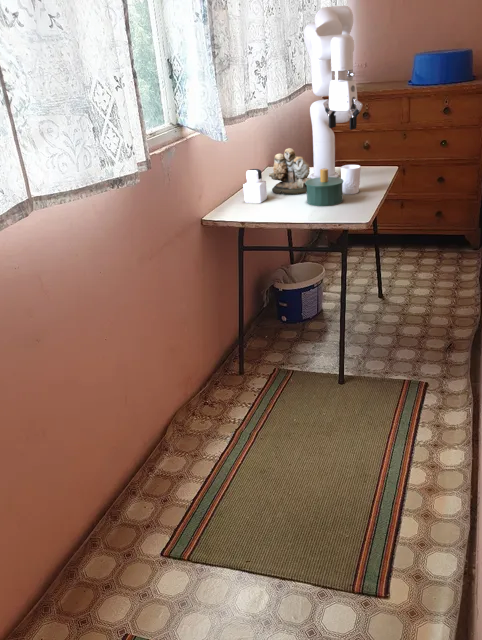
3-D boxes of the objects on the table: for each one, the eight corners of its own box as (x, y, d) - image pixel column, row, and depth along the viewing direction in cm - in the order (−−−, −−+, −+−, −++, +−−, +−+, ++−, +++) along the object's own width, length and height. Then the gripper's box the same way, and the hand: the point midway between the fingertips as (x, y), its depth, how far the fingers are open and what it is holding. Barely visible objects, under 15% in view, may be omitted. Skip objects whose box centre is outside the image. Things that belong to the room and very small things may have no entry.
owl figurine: (266, 195, 250) (263, 151, 241) (273, 188, 260) (270, 146, 251) (309, 194, 246) (308, 150, 237) (314, 187, 256) (313, 145, 247)
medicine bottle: (251, 198, 248) (248, 167, 242) (267, 198, 245) (265, 167, 239) (244, 202, 242) (241, 171, 236) (260, 203, 240) (258, 172, 233)
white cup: (359, 194, 241) (359, 168, 236) (339, 194, 243) (339, 169, 238) (361, 189, 248) (361, 164, 243) (341, 190, 250) (341, 164, 244)
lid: (300, 183, 237) (299, 168, 234) (335, 178, 240) (335, 163, 237) (312, 191, 225) (312, 175, 222) (349, 186, 228) (349, 170, 225)
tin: (302, 199, 240) (301, 181, 237) (335, 195, 243) (334, 177, 239) (313, 207, 229) (313, 189, 225) (347, 203, 232) (347, 184, 228)
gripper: (368, 75, 209) (367, 128, 218) (330, 74, 220) (331, 125, 229) (355, 77, 205) (354, 131, 214) (316, 77, 216) (318, 128, 225)
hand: (342, 128), depth 221 cm, fingers open, 9 cm apart
